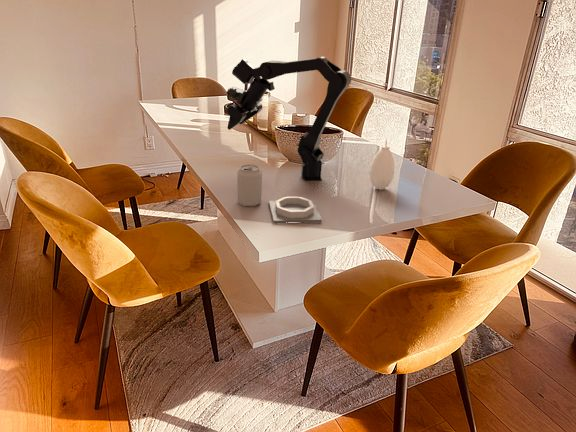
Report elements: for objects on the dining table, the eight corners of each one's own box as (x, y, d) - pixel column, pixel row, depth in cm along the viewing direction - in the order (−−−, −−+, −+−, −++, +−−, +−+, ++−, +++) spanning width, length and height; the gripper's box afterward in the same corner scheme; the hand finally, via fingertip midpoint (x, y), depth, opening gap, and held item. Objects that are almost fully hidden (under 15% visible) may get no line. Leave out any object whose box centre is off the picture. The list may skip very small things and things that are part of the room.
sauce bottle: (381, 183, 161) (388, 134, 153) (395, 191, 155) (403, 140, 147) (363, 186, 157) (370, 136, 150) (377, 194, 151) (385, 143, 143)
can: (232, 204, 139) (232, 167, 134) (245, 196, 145) (246, 161, 140) (253, 209, 136) (253, 172, 131) (265, 201, 142) (266, 165, 137)
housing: (312, 203, 142) (313, 194, 141) (321, 222, 130) (322, 213, 129) (268, 203, 140) (269, 195, 139) (273, 223, 128) (274, 214, 127)
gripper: (249, 75, 166) (229, 107, 174) (225, 81, 150) (205, 117, 159) (271, 94, 166) (251, 126, 174) (250, 102, 150) (228, 137, 158)
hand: (234, 126), depth 166 cm, fingers open, 9 cm apart
